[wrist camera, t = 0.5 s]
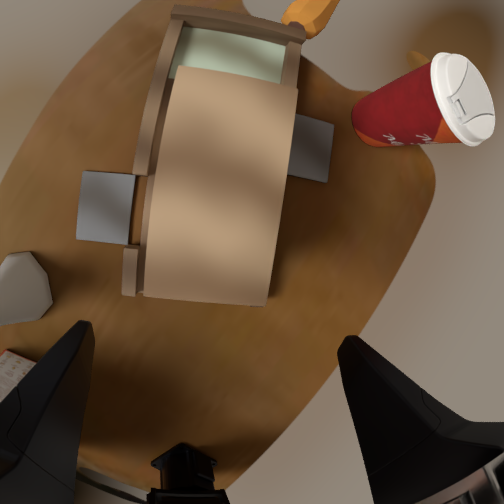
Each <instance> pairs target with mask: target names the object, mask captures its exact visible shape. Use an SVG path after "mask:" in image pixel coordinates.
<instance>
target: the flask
mask: <svg viewBox="0 0 504 504" xmlns="http://www.w3.org/2000/svg"><path fill="white" fill-rule="evenodd" d="M52 304H53V301H52V296H51V291H50V287H49V281H48V276H47V273H46V272H45V271H44V270H43V268H42V267H41V266H40V265H39V263H38V262H37V261H36V259H35V258H34V257H33V256H32V254H31V253H30V252H22V253H13V254H8V256H7V257H6V258H5V260H4V261H3V263H2V264H1V266H0V326H2V325H6V324H12V323H18V322H26V321H34V320H39V319H40V318H41V317H42V316H43V314H44V313H45V312H46V311H47V309H48V308H49V307H50V306H51V305H52Z"/></svg>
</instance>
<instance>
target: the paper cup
mask: <svg viewBox="0 0 504 504" xmlns="http://www.w3.org/2000/svg"><path fill="white" fill-rule="evenodd" d="M352 124H353V127H354V130H355V132H356V133H357V135H358V136H359V138H360V139H361V140H362V141H363V142H365V143H366V144H368V145H370V146H374V147H387V146H401V145H417V144H434V143H464V144H466V145H468V146H477V145H479V144H480V143H481V142H482V141H483V140H486V139H488V138H489V137H490V136H491V135H492V133H493V130H494V125H495V114H494V107H493V102H492V98H491V95H490V92H489V90H488V87H487V85H486V83H485V81H484V79H483V77H482V76H481V74H480V73H479V71H478V70H477V68H476V67H475V66H474V65H473V64H472V63H471V62H470V61H469V60H468V59H467V58H466V57H464V56H462V55H459V54H449V53H439V54H437V55H436V56H435V57H434V58H433V60H432V61H431V62H429V63H427V64H425V65H423V66H421V67H419V68H417V69H415V70H413V71H411V72H409V73H408V74H406V75H404V76H402V77H400V78H398V79H396V80H394V81H393V82H390V83H389V84H387V85H385V86H383V87H381V88H380V89H378V90H376V91H374V92H373V93H371V94H369V95H367V96H366V97H364V98H362V99H361V100H360V101H358V102H357V103H356V104H355V106H354V107H353V110H352Z"/></svg>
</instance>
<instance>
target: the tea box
mask: <svg viewBox="0 0 504 504" xmlns="http://www.w3.org/2000/svg"><path fill="white" fill-rule="evenodd" d="M297 97H298V89H296V88H293V87H289V86H285V85H282V84H278V83H274V82H270V81H266V80H261V79H257V78H252V77H248V76H243V75H238V74H233V73H228V72H222V71H216V70H210V69H203V68H196V67H188V66H180V65H178V69H177V72H176V76H175V80H174V84H173V88H172V92H171V97H170V101H169V105H168V110H167V114H166V119H165V124H164V129H163V134H162V139H161V145H160V150H159V156H158V162H157V168H156V174H155V181H154V187H153V195H152V202H151V210H150V219H149V228H148V238H147V249H146V261H145V276H144V294H143V296H146V297H155V298H164V299H175V300H185V301H197V302H209V303H222V304H236V305H252V306H266V303H267V297H268V291H269V285H270V279H271V273H272V267H273V261H274V255H275V249H276V242H277V236H278V230H279V223H280V217H281V210H282V204H283V197H284V190H285V184H286V177H287V170H288V163H289V156H290V149H291V142H292V134H293V127H294V120H295V112H296V104H297Z"/></svg>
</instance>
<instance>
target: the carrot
mask: <svg viewBox="0 0 504 504" xmlns="http://www.w3.org/2000/svg"><path fill="white" fill-rule="evenodd" d="M339 1H340V0H296V1H295V2H293V3H292V4H290V6H289V7H288V8H287V10H286V11H285V13H284V15H283V17H282V19H281V22H282V24H285V25H288V26H291V27H295V28H298V29H301V30H304V31H307V33H306V39H311V38H313V37H315V36H317V35H318V34H319V33H320V32H321V31H322V30H323V29H324V28H325V26H326V24H327V23H328V21H329V19H330V17H331V15H332V13H333V12H334V10H335V8H336V6H337V4H338V3H339Z"/></svg>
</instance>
